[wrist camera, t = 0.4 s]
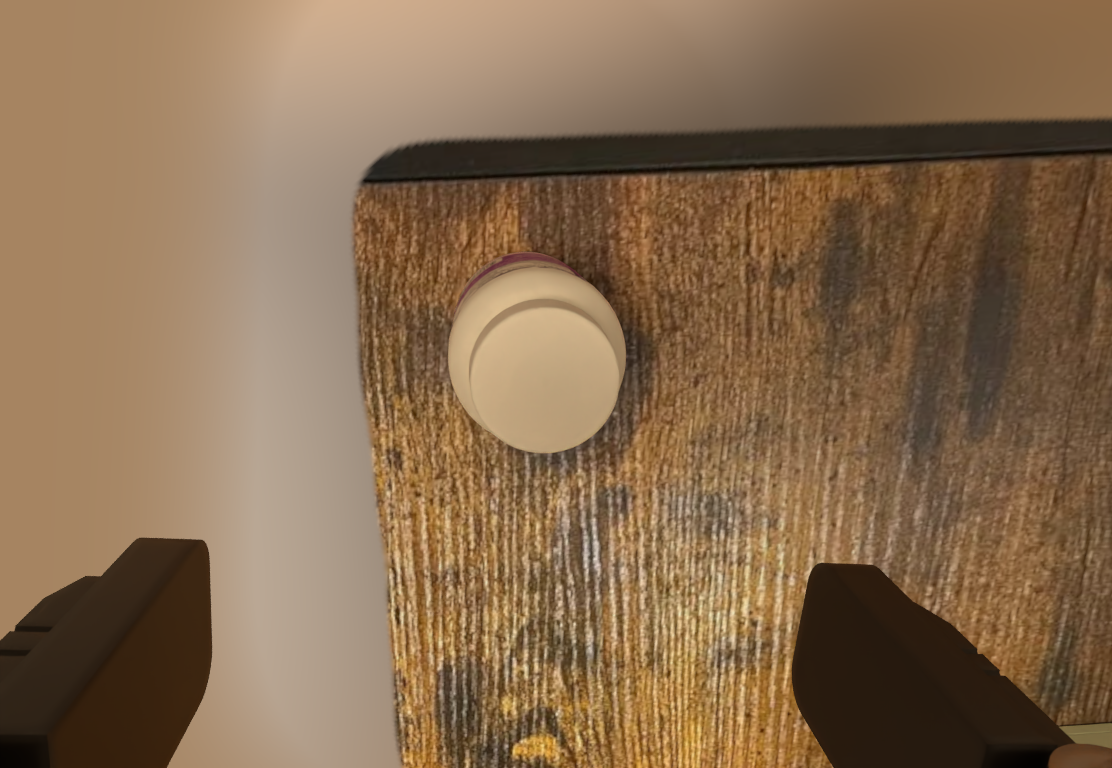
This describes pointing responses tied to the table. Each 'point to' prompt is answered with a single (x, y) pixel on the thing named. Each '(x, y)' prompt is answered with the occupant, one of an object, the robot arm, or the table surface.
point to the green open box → (1090, 734)
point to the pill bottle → (535, 353)
